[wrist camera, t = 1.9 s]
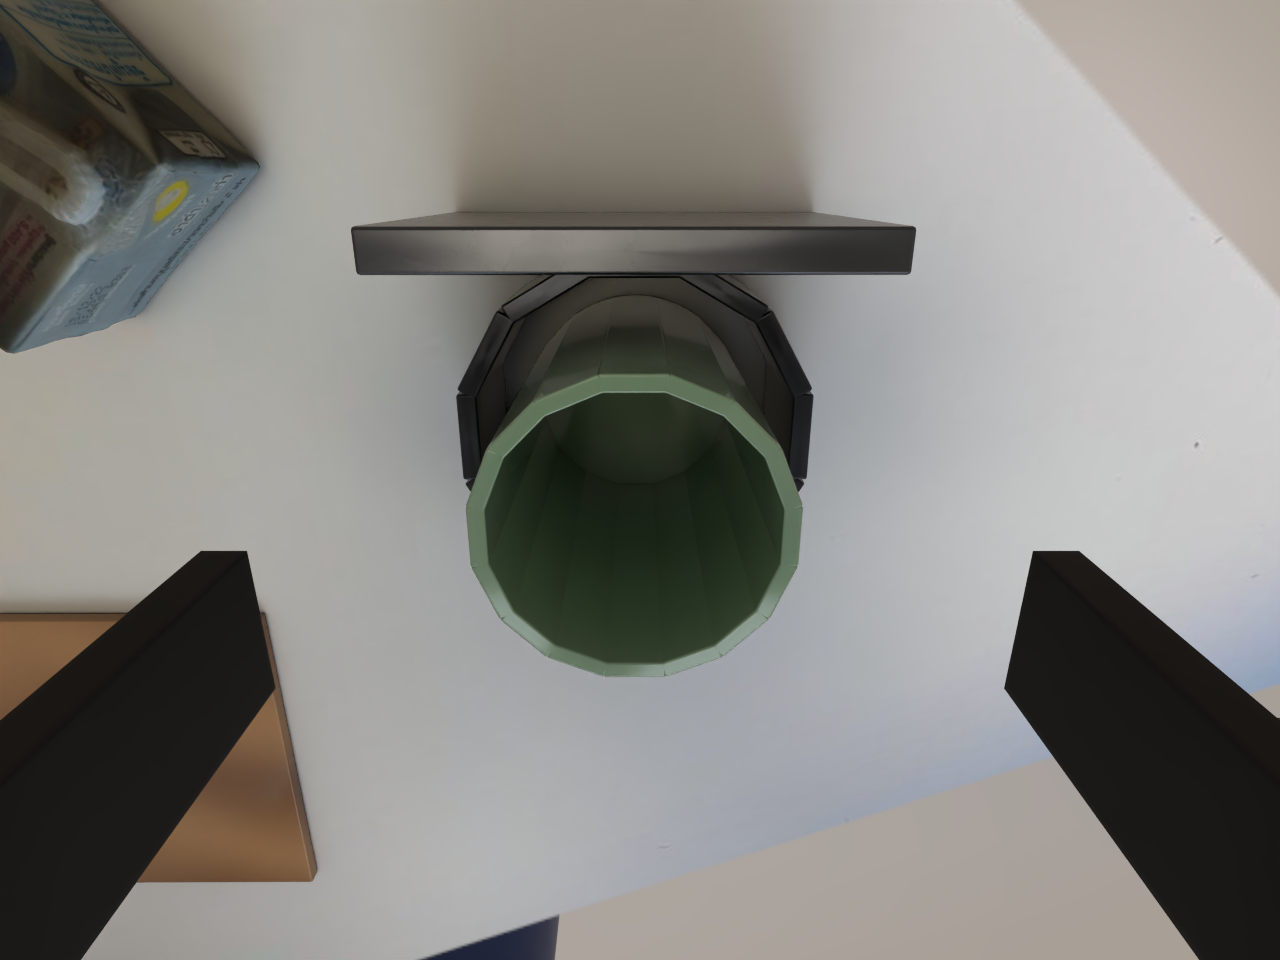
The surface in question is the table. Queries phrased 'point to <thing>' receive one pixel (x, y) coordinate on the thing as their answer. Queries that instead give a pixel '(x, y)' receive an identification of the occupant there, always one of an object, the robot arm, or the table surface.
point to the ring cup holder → (634, 250)
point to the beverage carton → (96, 172)
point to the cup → (634, 497)
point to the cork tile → (230, 802)
